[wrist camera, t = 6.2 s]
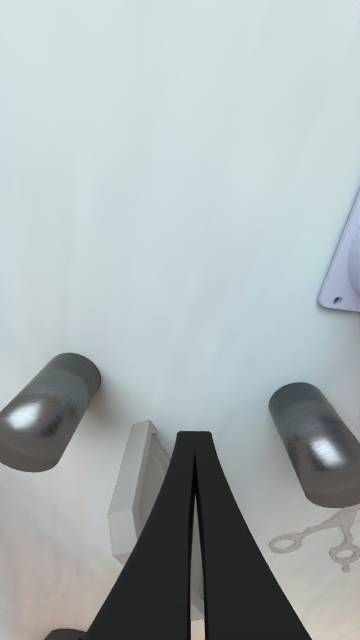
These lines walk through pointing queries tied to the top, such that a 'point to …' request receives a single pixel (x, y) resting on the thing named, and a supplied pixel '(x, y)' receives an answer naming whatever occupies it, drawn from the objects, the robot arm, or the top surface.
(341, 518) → the scissors
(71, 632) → the media streaming box
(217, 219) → the top surface
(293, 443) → the post
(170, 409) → the top surface
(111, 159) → the top surface
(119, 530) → the light switch
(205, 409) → the top surface
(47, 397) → the post
